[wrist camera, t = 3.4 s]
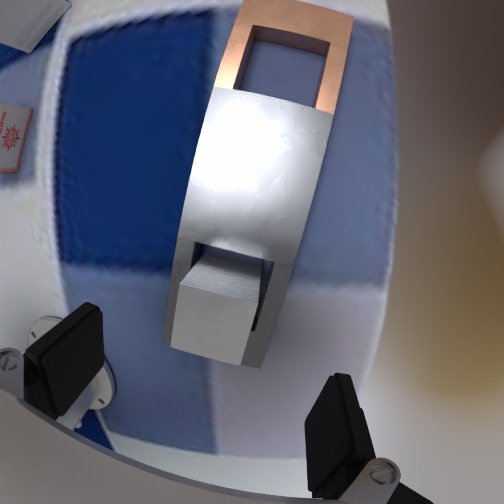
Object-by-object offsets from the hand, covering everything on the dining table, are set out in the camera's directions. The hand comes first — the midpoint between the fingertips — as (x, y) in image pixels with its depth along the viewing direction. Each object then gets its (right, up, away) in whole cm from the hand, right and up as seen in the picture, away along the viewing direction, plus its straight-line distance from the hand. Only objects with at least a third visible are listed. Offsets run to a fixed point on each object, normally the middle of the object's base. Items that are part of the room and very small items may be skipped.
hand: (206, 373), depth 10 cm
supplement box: (-22, +31, +6) cm, 39 cm away
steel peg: (0, +3, +12) cm, 12 cm away
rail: (+2, +10, +10) cm, 14 cm away
